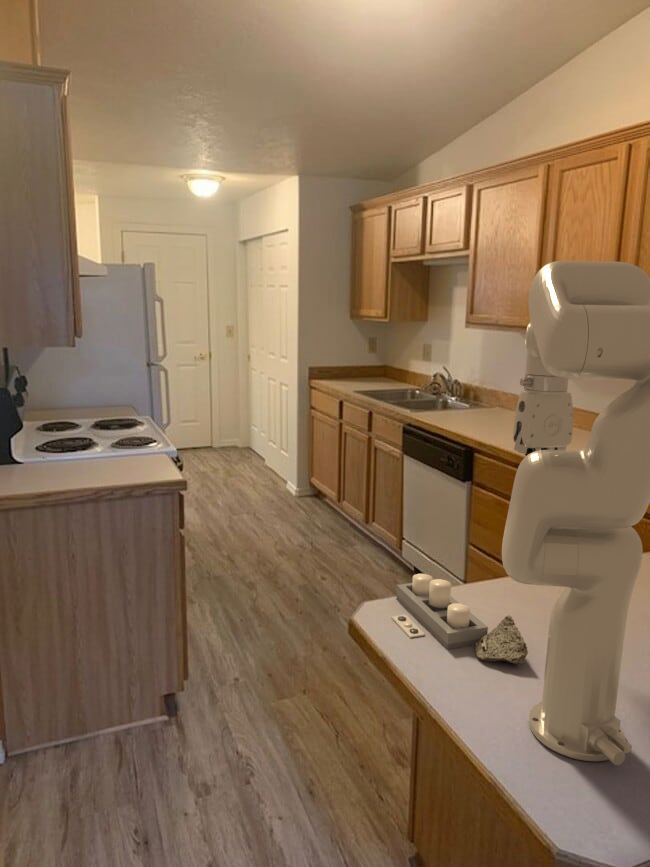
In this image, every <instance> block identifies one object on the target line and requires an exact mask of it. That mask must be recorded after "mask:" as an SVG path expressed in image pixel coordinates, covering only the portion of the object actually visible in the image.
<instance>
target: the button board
mask: <svg viewBox="0 0 650 867" xmlns="http://www.w3.org/2000/svg"><path fill="white" fill-rule="evenodd" d="M396 597H397V598H396ZM395 599H396V600H397V601H398V602H399V603H400V604H401V605H402V606H403V607H404V608H405V610H407V611H408V613H410V614H411V615H412V616H413V617H414V618H415V619H416V620H417V621H418V622H419V623H420V624H421V625H422V626H423V627H424V628H425V629H426V630H427V631H429V633H430V634H431V635H432V636H433V637H434V638H435V639H436V640H438V642H439V643H440V644H441V645H442V646H443V647H444V648H445V649H446V650H452V649H458V648H463V647H469V646H476V645H475V644H476V643H477V642H479V641H480V640H481V639H482V638H483V637H484V636H485V635H486V634H488V633H489V632H488V631H489V627H488V626H487V625H486V624H485V623H484V622H482V621H481V620H480V619H479V618H478V617H476V616H475V615H474V614H473V613H472V612H470V621H469V627H467V628H460V629H454V630H453V629H452V628H451V627H450V626H448V625H447V610H448V607H446V608H437V607H434V606H431V605H430V604H429V595H423V596H416V595H415V594H414V593H412V582H409V583H401V584H396V595H395ZM454 603H458V604H460V602H458V601H457V600H456V599H454V597H453V596H451V595H450V604H454Z"/></svg>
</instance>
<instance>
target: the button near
mask: <svg viewBox="0 0 650 867" xmlns="http://www.w3.org/2000/svg"><path fill="white" fill-rule="evenodd" d="M458 603H459V602H458ZM458 603H454V604H450V605H449V606H448V610H447V625H448V626H450V627H451V628H452V629H453V630H454V629H460V628H467V627H469V621H470V613H471V608H470V607H469V606H468V605H466V604H464V603H459V604H458Z"/></svg>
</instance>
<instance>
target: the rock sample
mask: <svg viewBox="0 0 650 867" xmlns="http://www.w3.org/2000/svg"><path fill="white" fill-rule="evenodd" d="M474 646H475V655H476V657H477V658H478V659H480V660H481V661H482V660H483V661H485V662H498V661H499V662H507V663H511V664H514V665H524V663H525V659H526V658H527V656H528V654H529V651H528V647H527V644H526V642H525V640H524V637H523V636H522V633H521V632H520V630H519V628H518V627H517V626H516V623H515V621H514V619H513V617H512V616H511V615H510V614H509V615H506V616H504V618H503V619H502V620H501V621H500V622H499V623H498V624H497V626H496V627H494V628H493V629H492V630H491V631H490V632H488V634H486V635H485V636H484V637H483V638H482V639H481V640H480V641H479V642H477V643H476V644H475V645H474Z"/></svg>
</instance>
